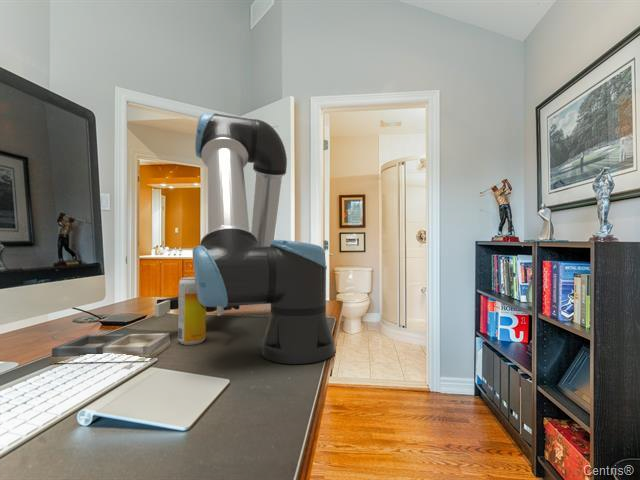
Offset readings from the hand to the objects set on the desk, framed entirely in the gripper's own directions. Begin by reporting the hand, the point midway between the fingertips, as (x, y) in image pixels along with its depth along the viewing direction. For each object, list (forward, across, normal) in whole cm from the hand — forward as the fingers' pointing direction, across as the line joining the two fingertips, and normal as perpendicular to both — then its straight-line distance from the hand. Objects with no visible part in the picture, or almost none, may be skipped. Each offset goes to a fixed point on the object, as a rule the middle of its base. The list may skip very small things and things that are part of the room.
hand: (187, 310), depth 73 cm
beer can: (-3, 0, -8) cm, 9 cm away
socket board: (+5, +13, -8) cm, 16 cm away
